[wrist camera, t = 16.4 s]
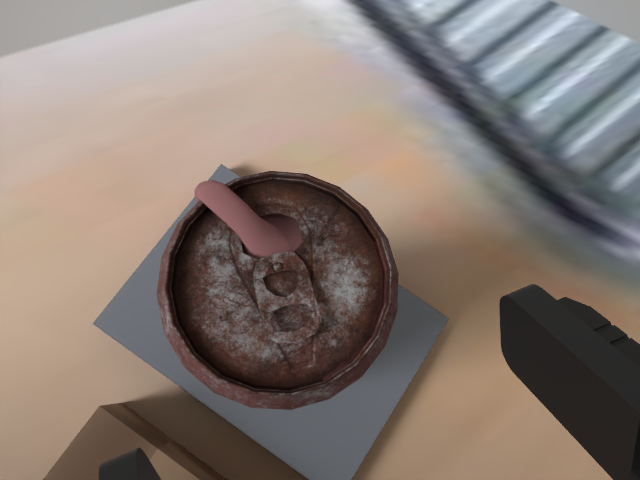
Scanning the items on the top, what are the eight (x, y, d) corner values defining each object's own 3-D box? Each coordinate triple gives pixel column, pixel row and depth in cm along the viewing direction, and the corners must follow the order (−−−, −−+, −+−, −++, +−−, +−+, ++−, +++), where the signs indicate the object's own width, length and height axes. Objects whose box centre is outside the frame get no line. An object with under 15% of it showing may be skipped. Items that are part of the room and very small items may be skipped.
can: (266, 240, 27) (261, 103, 14) (363, 322, 27) (456, 264, 13) (181, 333, 26) (83, 281, 12) (282, 422, 25) (294, 471, 12)
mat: (99, 325, 27) (92, 323, 26) (223, 171, 29) (221, 163, 28) (335, 496, 26) (338, 500, 25) (442, 320, 28) (448, 318, 27)
